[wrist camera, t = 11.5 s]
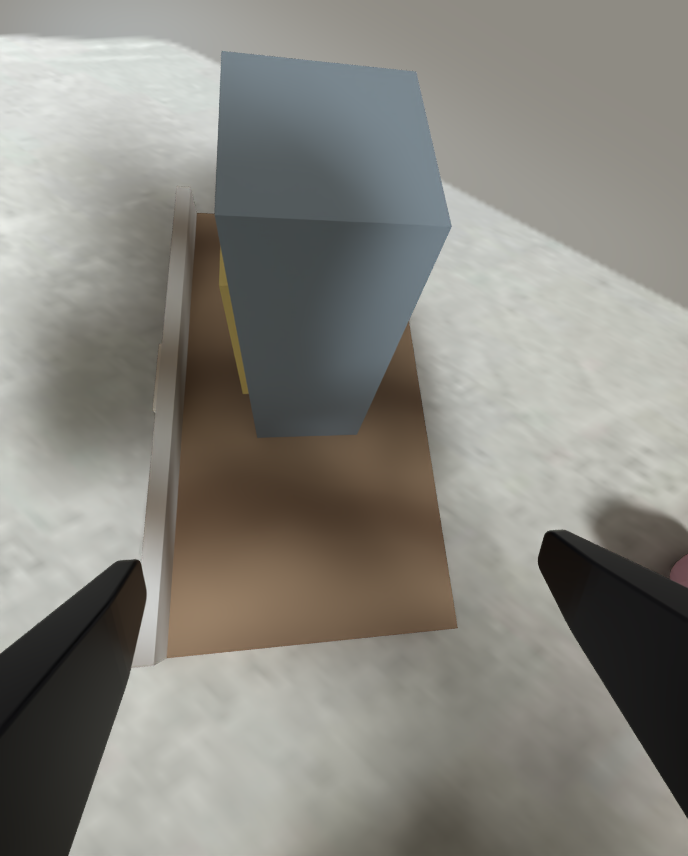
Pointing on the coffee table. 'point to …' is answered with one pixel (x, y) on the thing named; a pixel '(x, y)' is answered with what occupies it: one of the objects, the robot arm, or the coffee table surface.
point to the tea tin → (321, 232)
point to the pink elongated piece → (680, 571)
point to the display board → (277, 497)
